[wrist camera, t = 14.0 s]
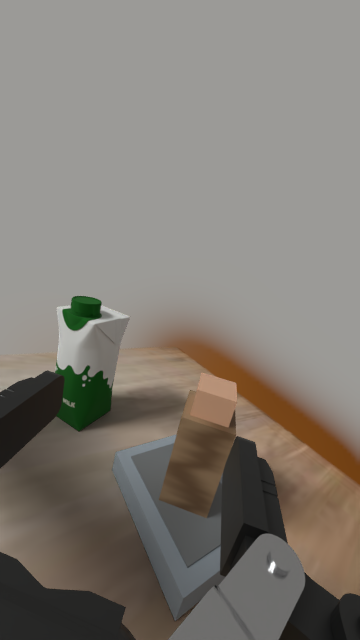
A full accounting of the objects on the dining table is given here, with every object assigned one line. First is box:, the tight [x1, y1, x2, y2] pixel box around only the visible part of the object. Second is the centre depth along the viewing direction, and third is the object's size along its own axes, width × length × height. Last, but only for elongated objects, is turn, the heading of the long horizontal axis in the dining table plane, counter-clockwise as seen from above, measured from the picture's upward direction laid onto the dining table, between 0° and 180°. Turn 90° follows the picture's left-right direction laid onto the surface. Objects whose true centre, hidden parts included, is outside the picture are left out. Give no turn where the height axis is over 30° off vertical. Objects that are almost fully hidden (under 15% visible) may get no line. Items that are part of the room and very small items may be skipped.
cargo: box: [190, 373, 237, 427], centre depth 27 cm, size 4×4×3 cm
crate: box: [159, 390, 236, 518], centre depth 29 cm, size 6×6×11 cm
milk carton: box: [55, 296, 130, 431], centre depth 40 cm, size 9×9×20 cm
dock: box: [112, 435, 225, 621], centre depth 31 cm, size 16×12×3 cm
